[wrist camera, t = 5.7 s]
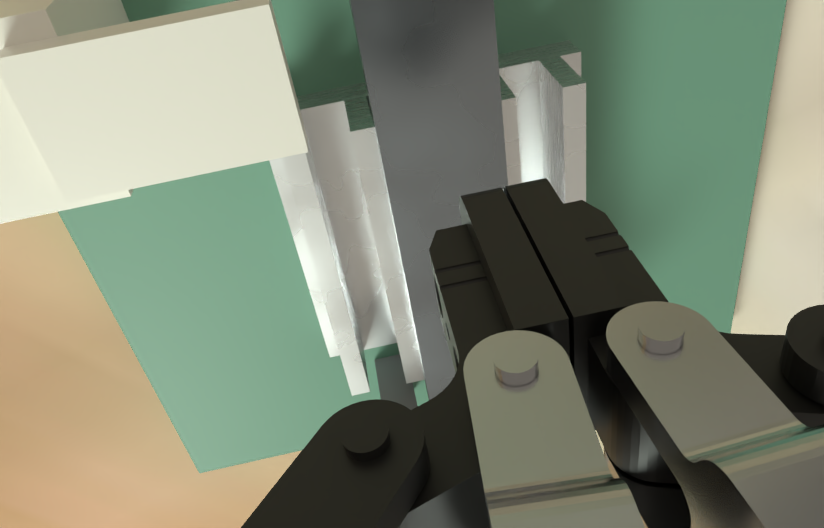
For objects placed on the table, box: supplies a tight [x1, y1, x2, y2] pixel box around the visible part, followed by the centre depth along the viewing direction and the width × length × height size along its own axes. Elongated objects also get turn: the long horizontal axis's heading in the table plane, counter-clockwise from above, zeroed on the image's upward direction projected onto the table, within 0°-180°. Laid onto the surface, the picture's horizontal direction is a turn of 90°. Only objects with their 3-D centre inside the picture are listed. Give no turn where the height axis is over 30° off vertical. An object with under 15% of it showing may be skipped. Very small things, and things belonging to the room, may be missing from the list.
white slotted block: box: [269, 40, 586, 396], centre depth 21 cm, size 9×9×3 cm
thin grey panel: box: [349, 0, 508, 400], centre depth 19 cm, size 16×3×1 cm, turn 8°
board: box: [58, 0, 787, 473], centre depth 21 cm, size 22×19×7 cm
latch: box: [0, 0, 308, 224], centre depth 15 cm, size 8×4×6 cm, turn 98°
